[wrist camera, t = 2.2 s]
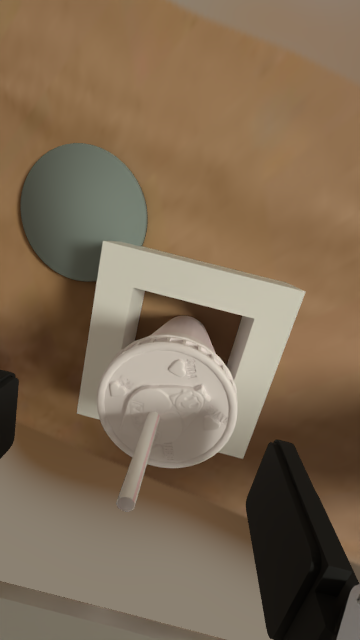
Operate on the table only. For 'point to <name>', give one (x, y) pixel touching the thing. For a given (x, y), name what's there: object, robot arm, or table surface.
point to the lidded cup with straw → (167, 402)
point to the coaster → (81, 208)
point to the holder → (200, 288)
